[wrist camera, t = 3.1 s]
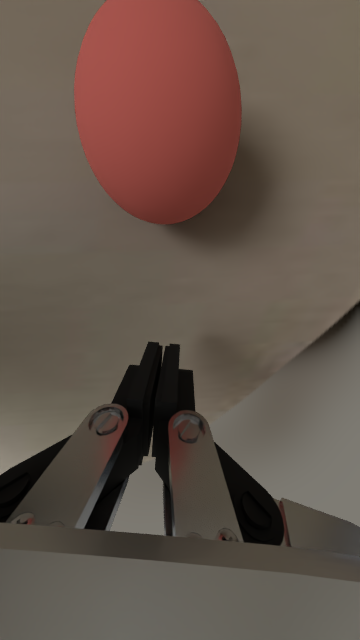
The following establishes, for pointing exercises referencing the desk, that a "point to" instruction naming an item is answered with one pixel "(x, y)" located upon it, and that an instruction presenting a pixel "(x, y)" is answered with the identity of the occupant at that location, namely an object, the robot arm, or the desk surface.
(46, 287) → the desk surface
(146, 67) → the ball
